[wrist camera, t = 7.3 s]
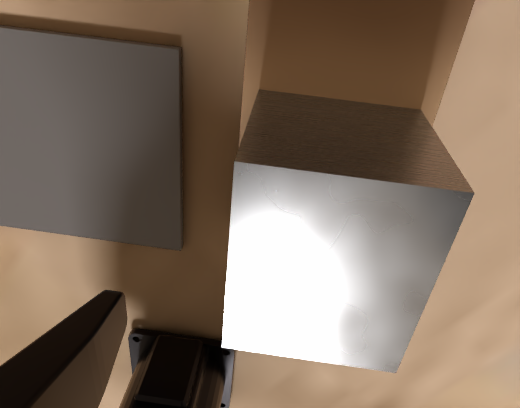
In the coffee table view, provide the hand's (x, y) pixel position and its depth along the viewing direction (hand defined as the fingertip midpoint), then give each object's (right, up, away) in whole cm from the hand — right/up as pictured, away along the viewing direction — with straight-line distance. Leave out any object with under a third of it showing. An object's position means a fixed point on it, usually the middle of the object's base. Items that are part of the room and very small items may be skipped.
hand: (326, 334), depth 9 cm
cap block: (+1, +4, +5) cm, 7 cm away
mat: (-10, +5, +10) cm, 15 cm away
